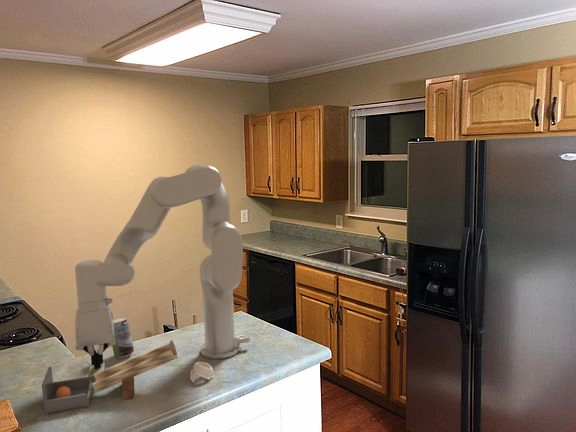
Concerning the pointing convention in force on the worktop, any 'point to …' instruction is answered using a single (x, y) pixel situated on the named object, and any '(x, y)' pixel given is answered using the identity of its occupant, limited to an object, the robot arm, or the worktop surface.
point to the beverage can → (122, 338)
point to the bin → (76, 400)
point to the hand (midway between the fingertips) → (97, 366)
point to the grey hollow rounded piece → (201, 371)
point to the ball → (63, 392)
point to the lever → (131, 367)
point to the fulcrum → (128, 388)
